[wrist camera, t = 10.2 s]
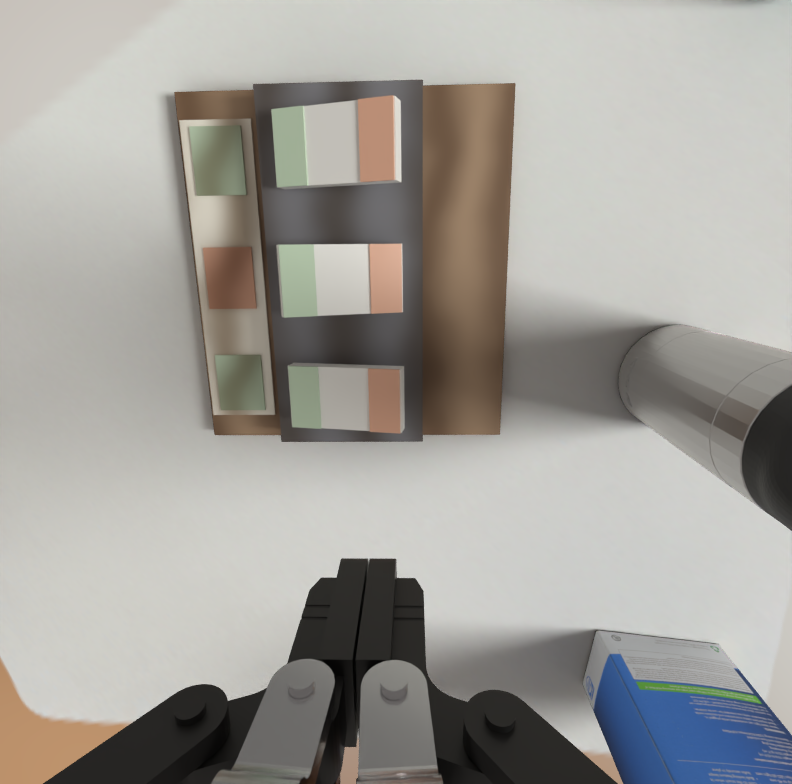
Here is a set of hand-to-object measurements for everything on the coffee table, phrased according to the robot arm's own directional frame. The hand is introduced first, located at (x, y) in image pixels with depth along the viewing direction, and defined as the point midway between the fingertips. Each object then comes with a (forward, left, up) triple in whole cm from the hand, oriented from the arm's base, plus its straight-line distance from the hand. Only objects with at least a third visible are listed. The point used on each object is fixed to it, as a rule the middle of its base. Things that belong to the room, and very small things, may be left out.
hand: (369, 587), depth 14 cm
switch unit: (+4, -7, -32) cm, 33 cm away
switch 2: (+4, -7, -26) cm, 27 cm away
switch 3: (+4, +2, -26) cm, 26 cm away
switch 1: (+4, -16, -26) cm, 31 cm away
